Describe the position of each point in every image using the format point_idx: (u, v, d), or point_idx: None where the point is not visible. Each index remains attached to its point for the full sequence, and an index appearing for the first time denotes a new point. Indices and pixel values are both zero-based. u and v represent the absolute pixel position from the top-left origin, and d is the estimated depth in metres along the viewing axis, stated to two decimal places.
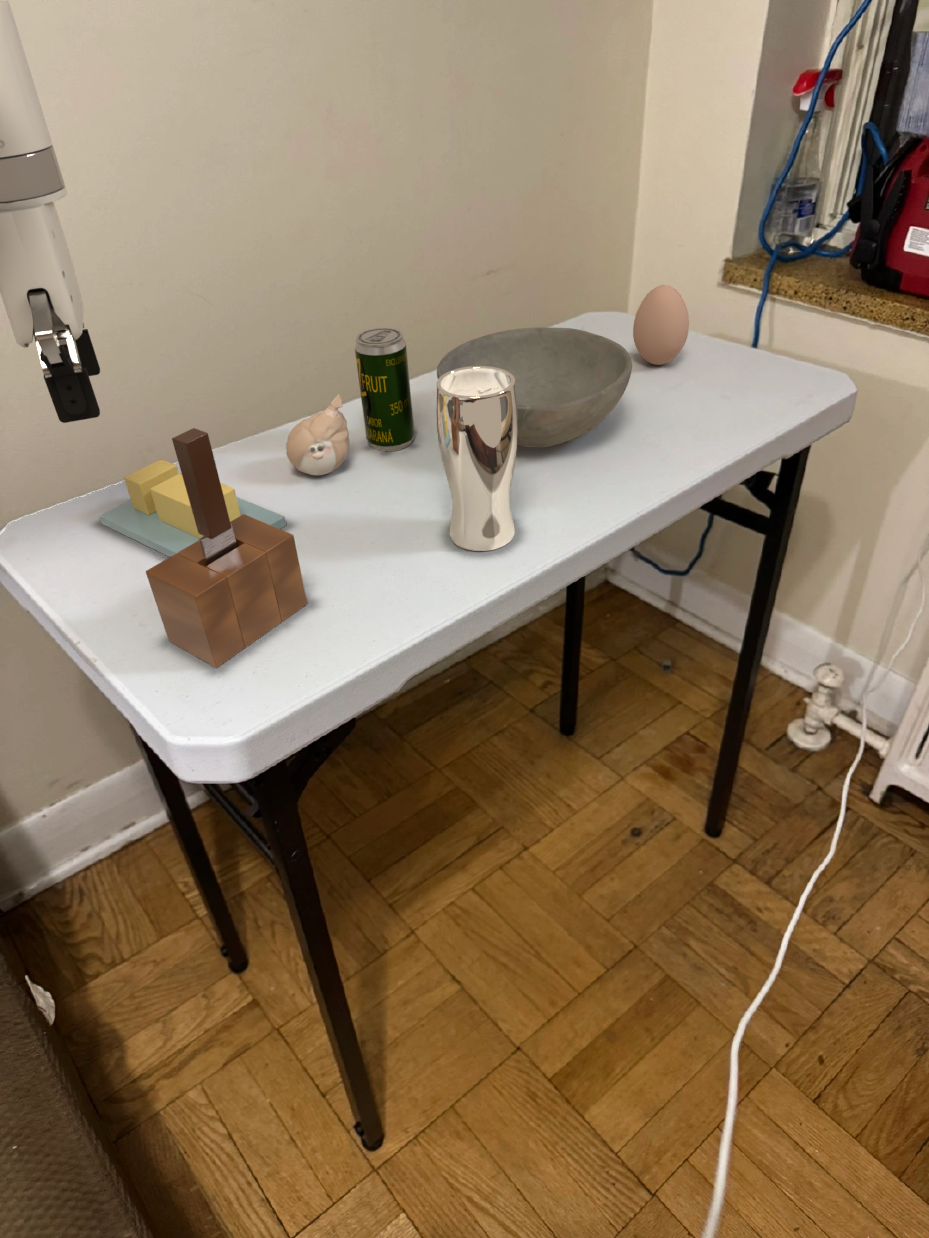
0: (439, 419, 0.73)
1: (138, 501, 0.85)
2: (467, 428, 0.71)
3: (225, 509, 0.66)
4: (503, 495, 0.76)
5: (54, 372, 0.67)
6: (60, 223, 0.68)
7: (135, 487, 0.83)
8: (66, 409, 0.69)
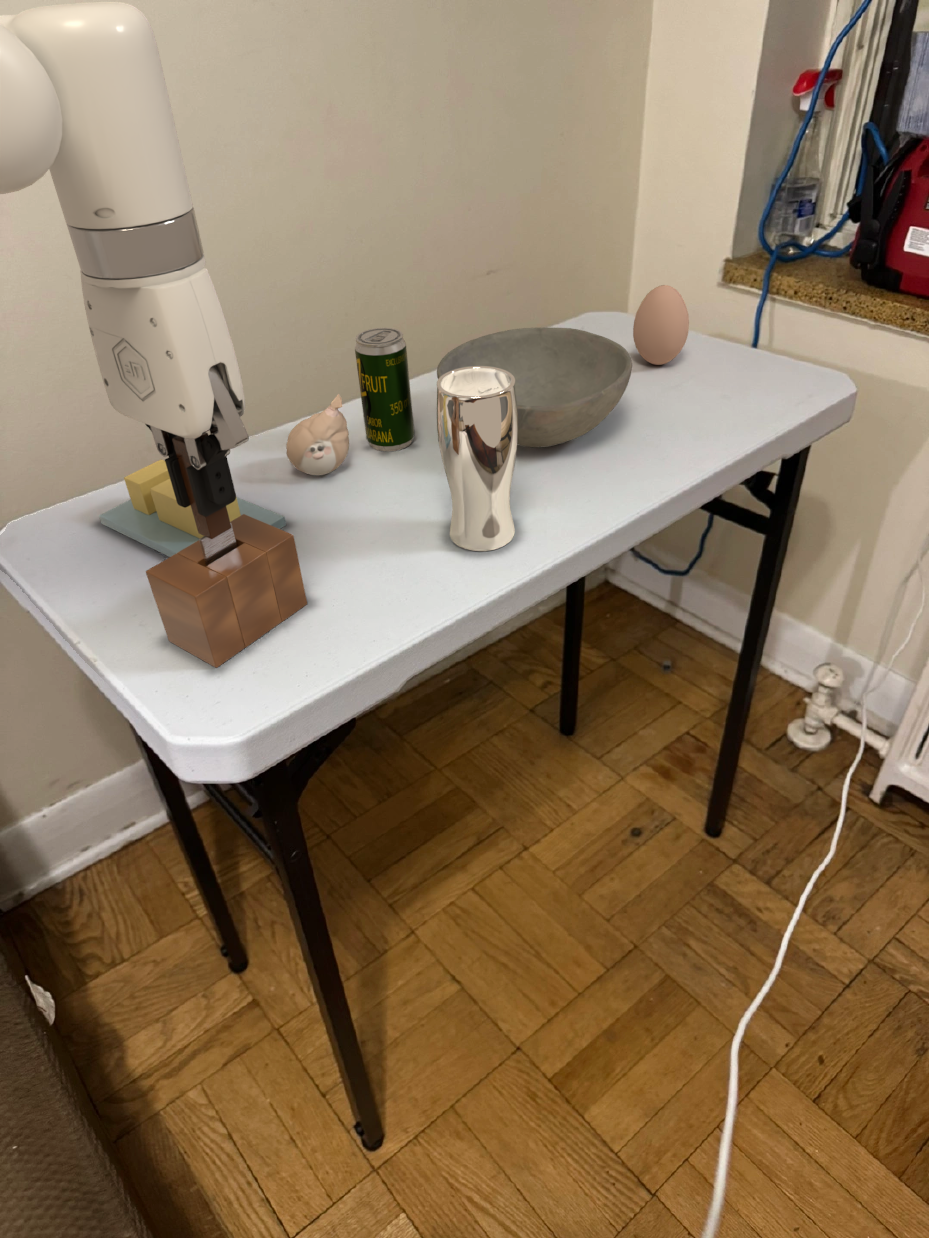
0: (439, 419, 0.73)
1: (138, 501, 0.85)
2: (467, 428, 0.71)
3: (225, 509, 0.66)
4: (503, 495, 0.76)
5: (212, 460, 0.61)
6: None
7: (135, 487, 0.83)
8: (215, 499, 0.63)
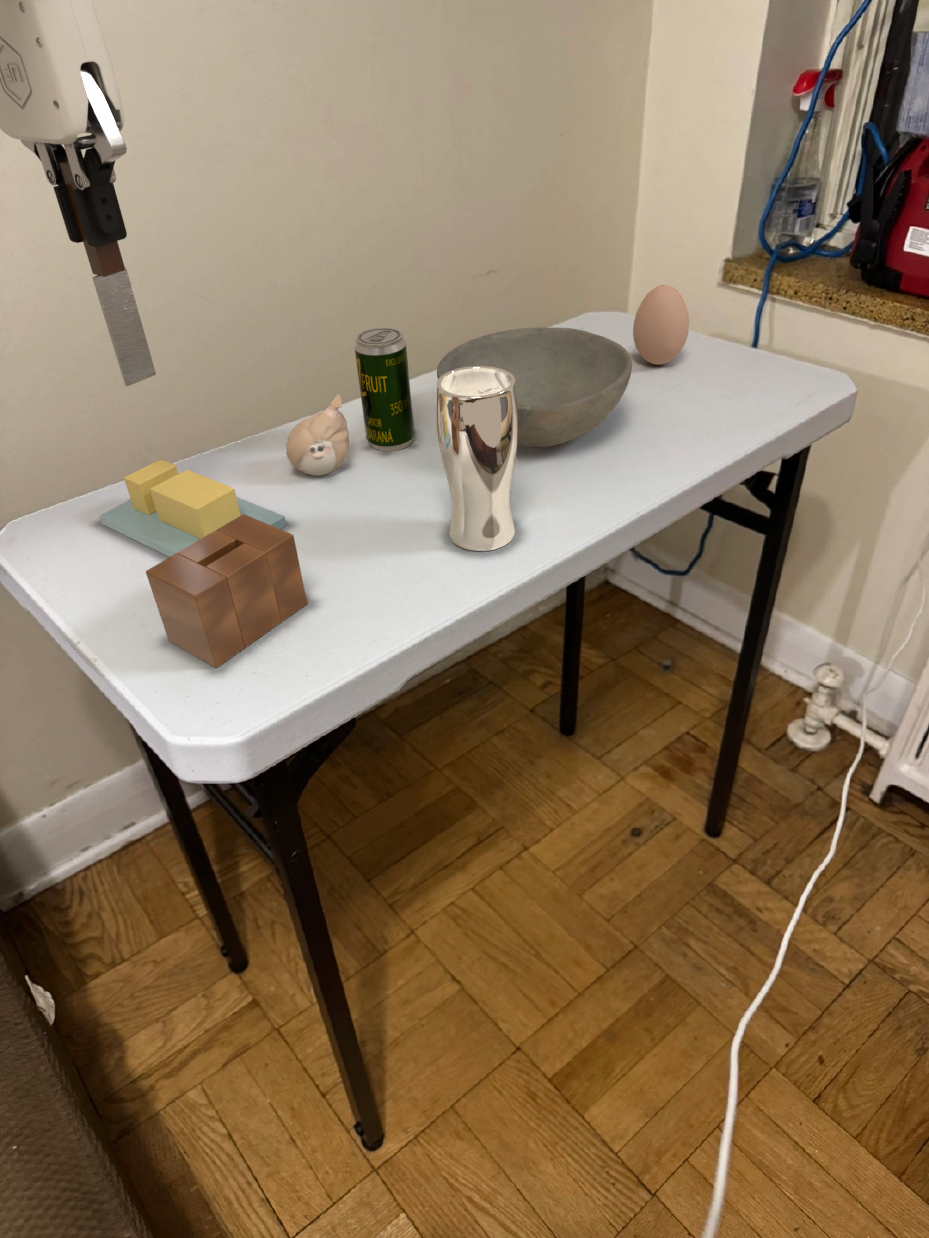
0: (439, 419, 0.73)
1: (138, 501, 0.85)
2: (467, 428, 0.71)
3: (117, 248, 0.68)
4: (503, 495, 0.76)
5: (95, 179, 0.63)
6: None
7: (135, 487, 0.83)
8: (102, 227, 0.65)
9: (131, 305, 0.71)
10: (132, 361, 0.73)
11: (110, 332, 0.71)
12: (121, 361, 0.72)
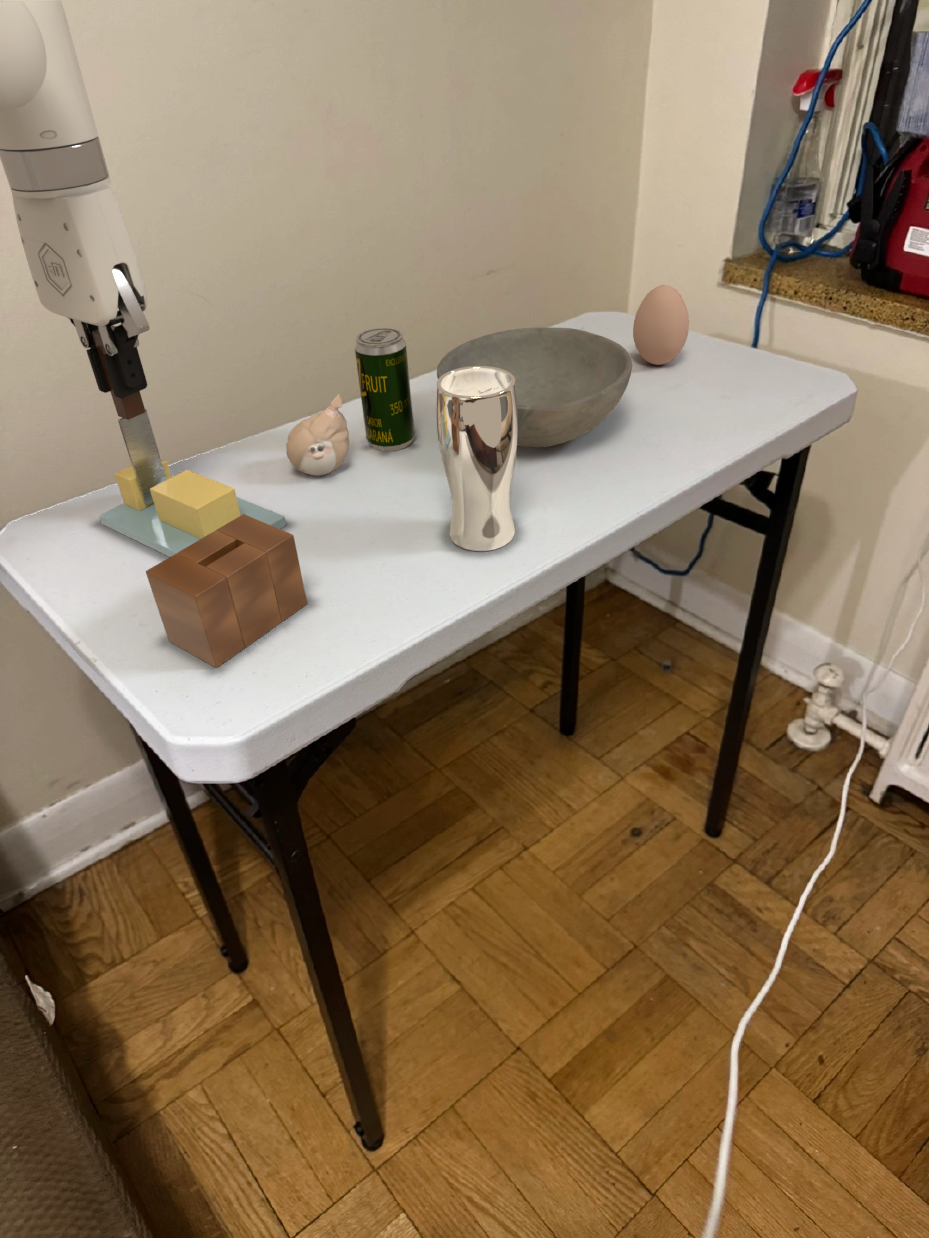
0: (439, 419, 0.73)
1: (128, 497, 0.85)
2: (467, 428, 0.71)
3: (139, 395, 0.80)
4: (503, 495, 0.76)
5: (122, 348, 0.75)
6: None
7: (126, 483, 0.84)
8: (127, 383, 0.77)
9: (150, 438, 0.83)
10: (150, 483, 0.85)
11: (132, 463, 0.83)
12: (141, 485, 0.84)
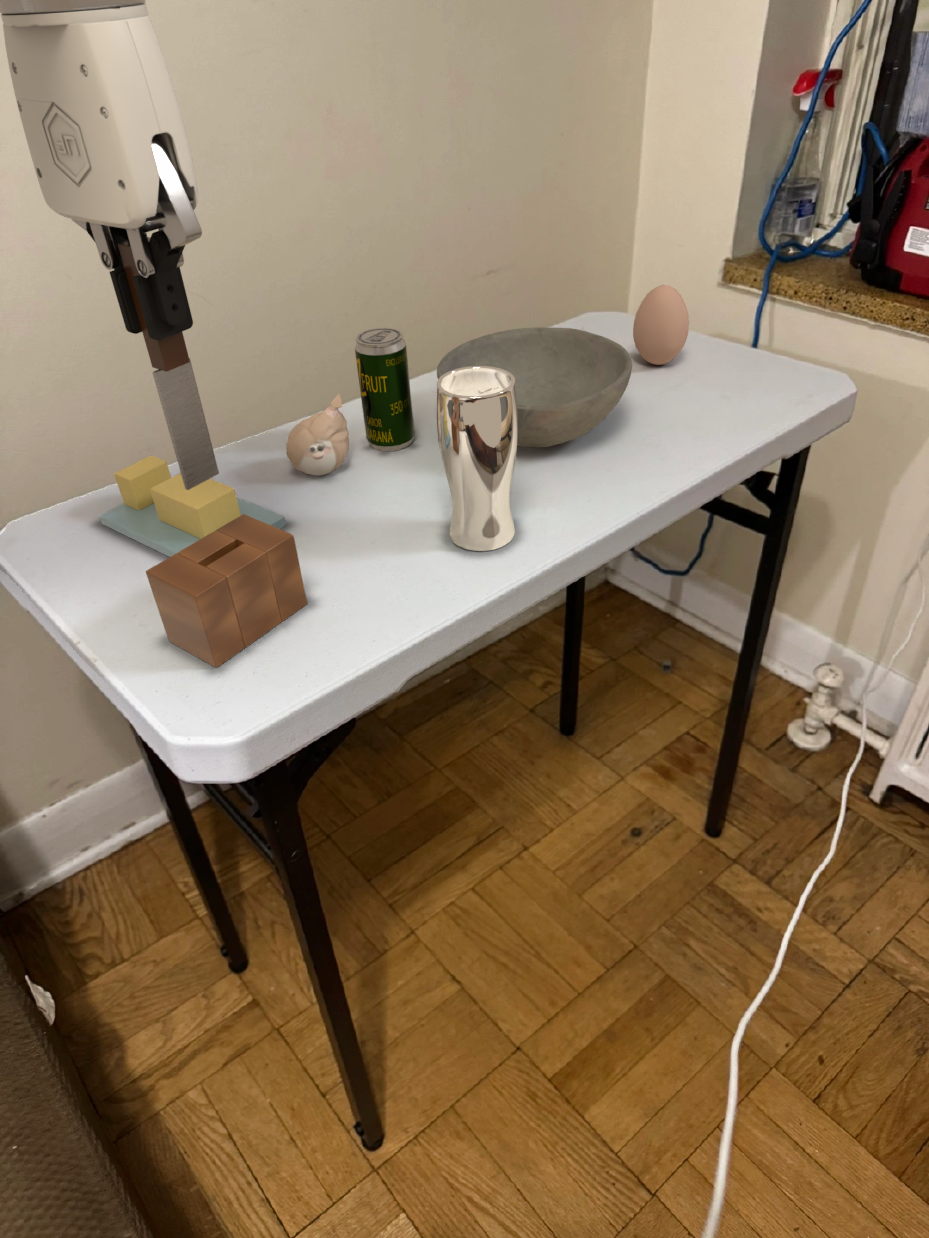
0: (439, 419, 0.73)
1: (128, 497, 0.85)
2: (467, 428, 0.71)
3: (182, 338, 0.58)
4: (503, 495, 0.76)
5: (162, 265, 0.53)
6: None
7: (125, 483, 0.84)
8: (167, 318, 0.55)
9: (194, 399, 0.61)
10: (194, 461, 0.63)
11: (170, 432, 0.61)
12: (182, 463, 0.62)
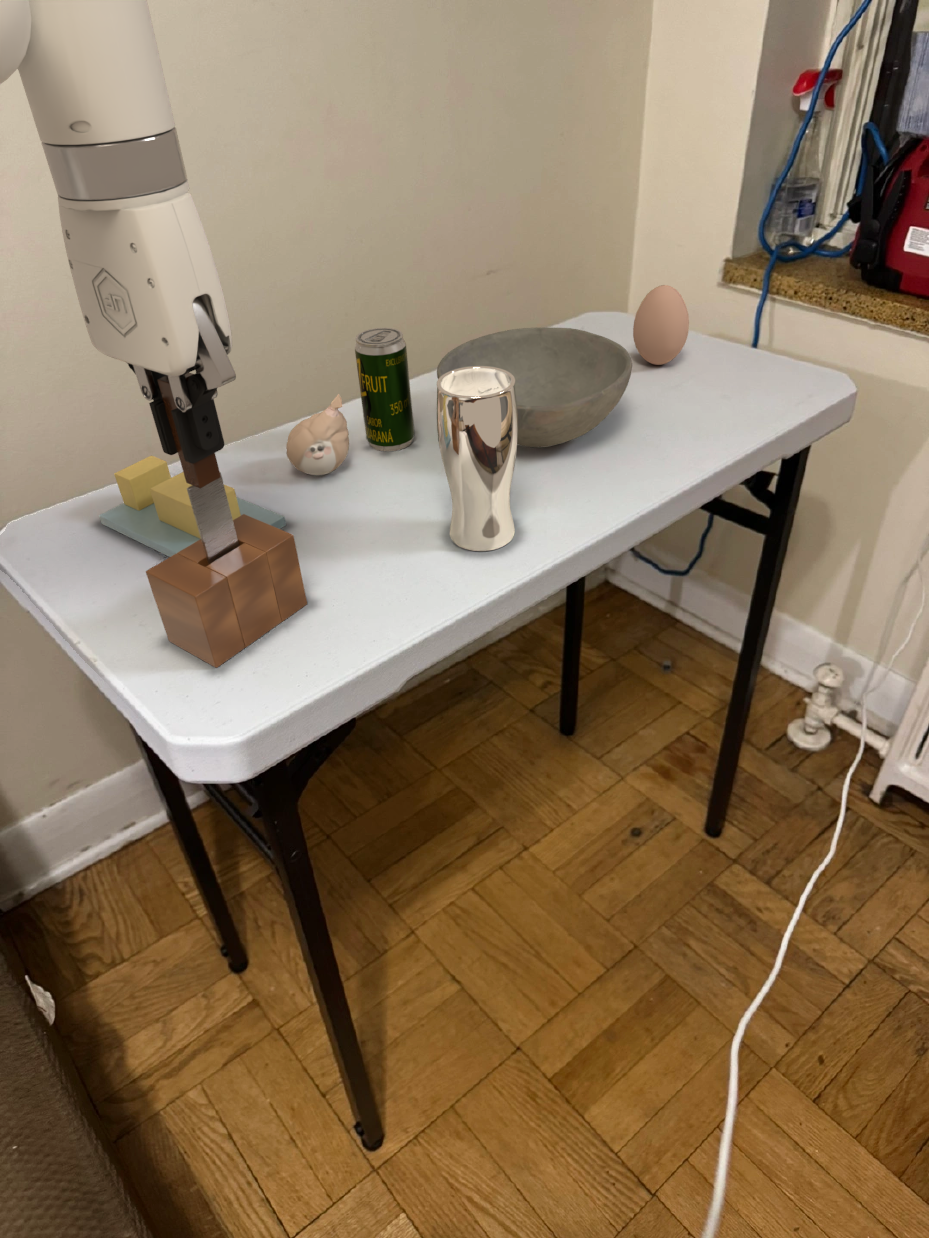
0: (439, 419, 0.73)
1: (128, 497, 0.85)
2: (467, 428, 0.71)
3: (214, 457, 0.63)
4: (503, 495, 0.76)
5: (198, 401, 0.58)
6: None
7: (125, 483, 0.84)
8: (202, 445, 0.60)
9: (224, 508, 0.66)
10: None
11: (202, 539, 0.66)
12: None
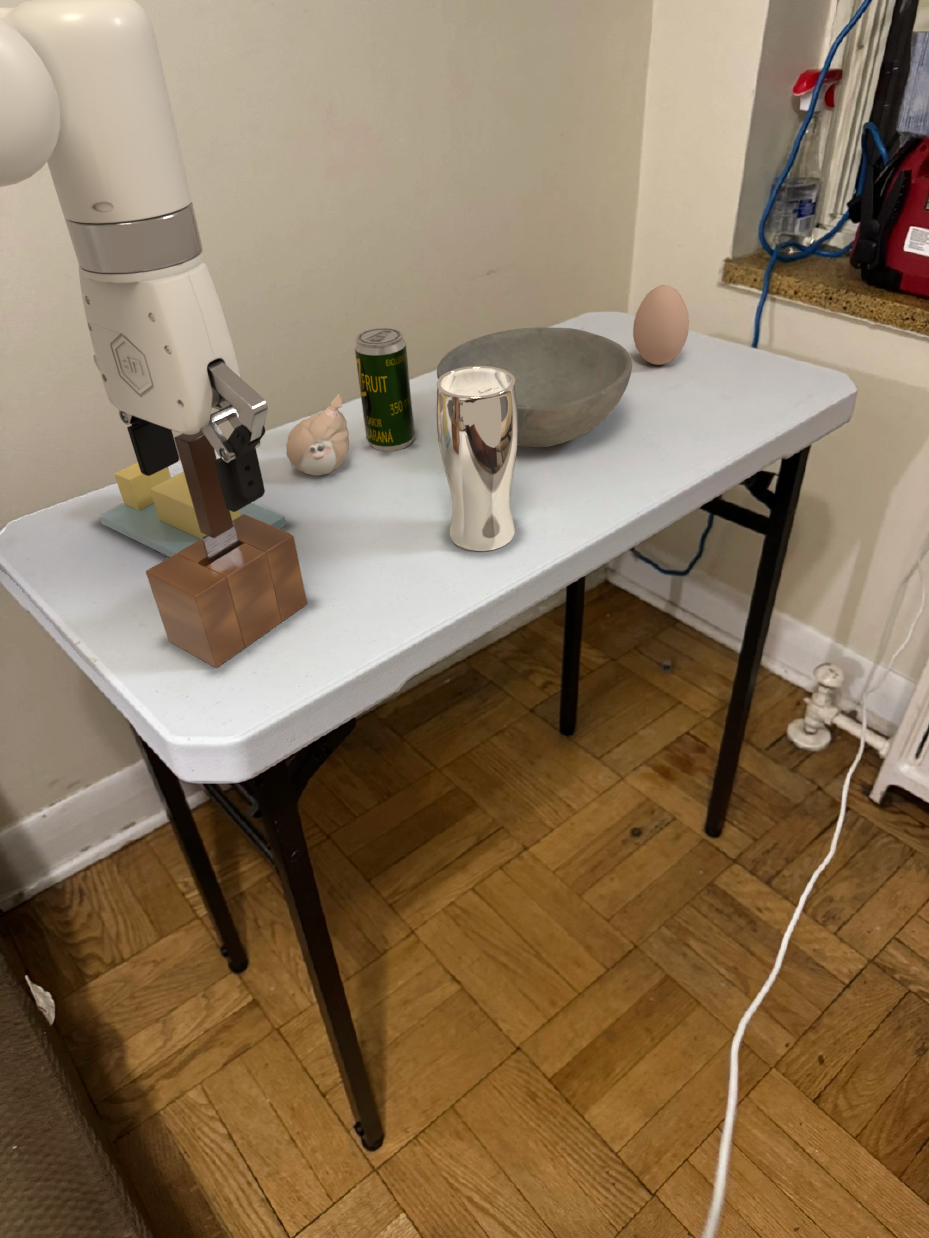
0: (439, 419, 0.73)
1: (128, 497, 0.85)
2: (467, 428, 0.71)
3: None
4: (503, 495, 0.76)
5: (242, 452, 0.58)
6: None
7: (125, 483, 0.84)
8: (244, 494, 0.60)
9: None
10: None
11: None
12: None
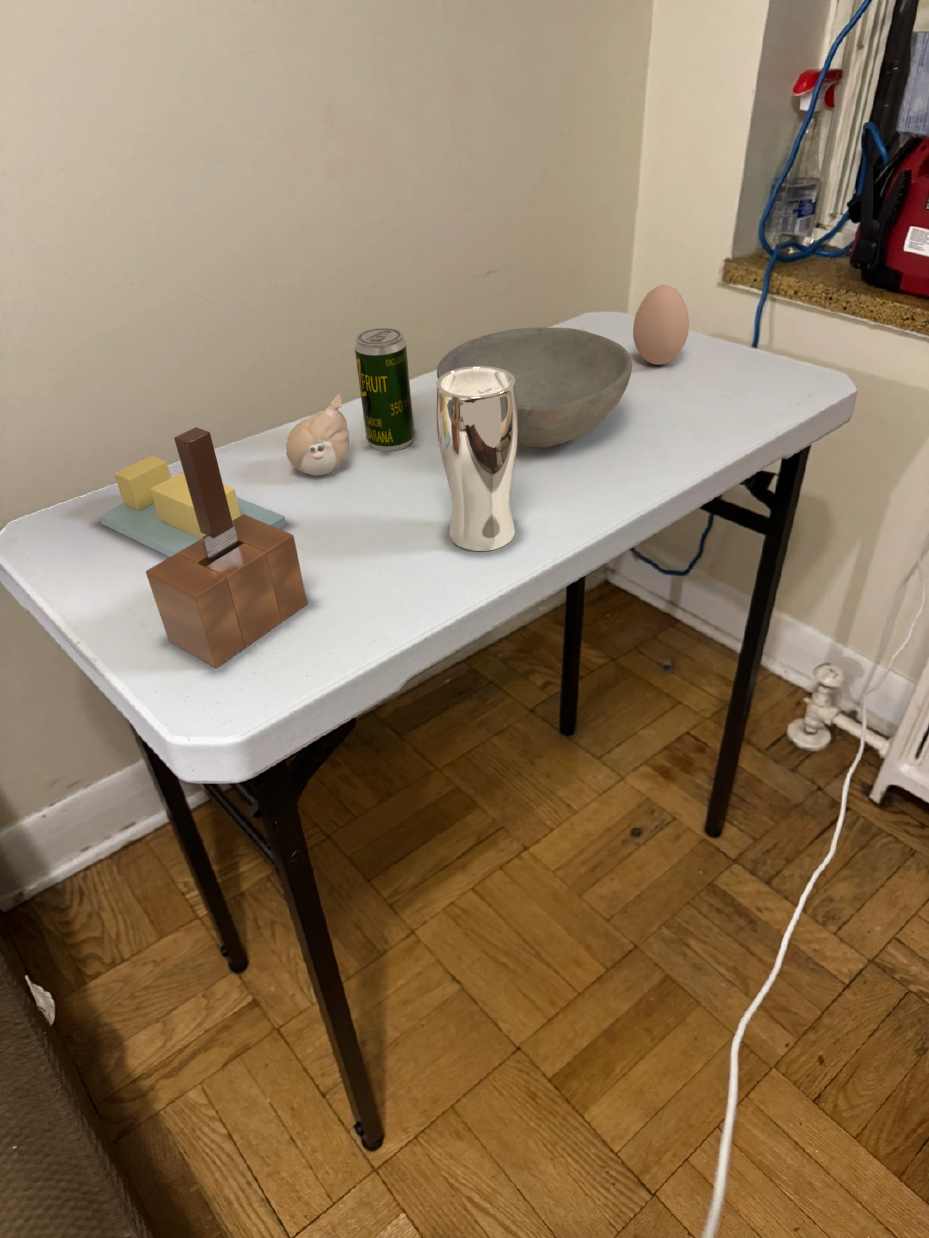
0: (439, 419, 0.73)
1: (128, 497, 0.85)
2: (467, 428, 0.71)
3: (227, 508, 0.66)
4: (503, 495, 0.76)
5: None
6: None
7: (125, 483, 0.84)
8: None
9: None
10: None
11: None
12: None
